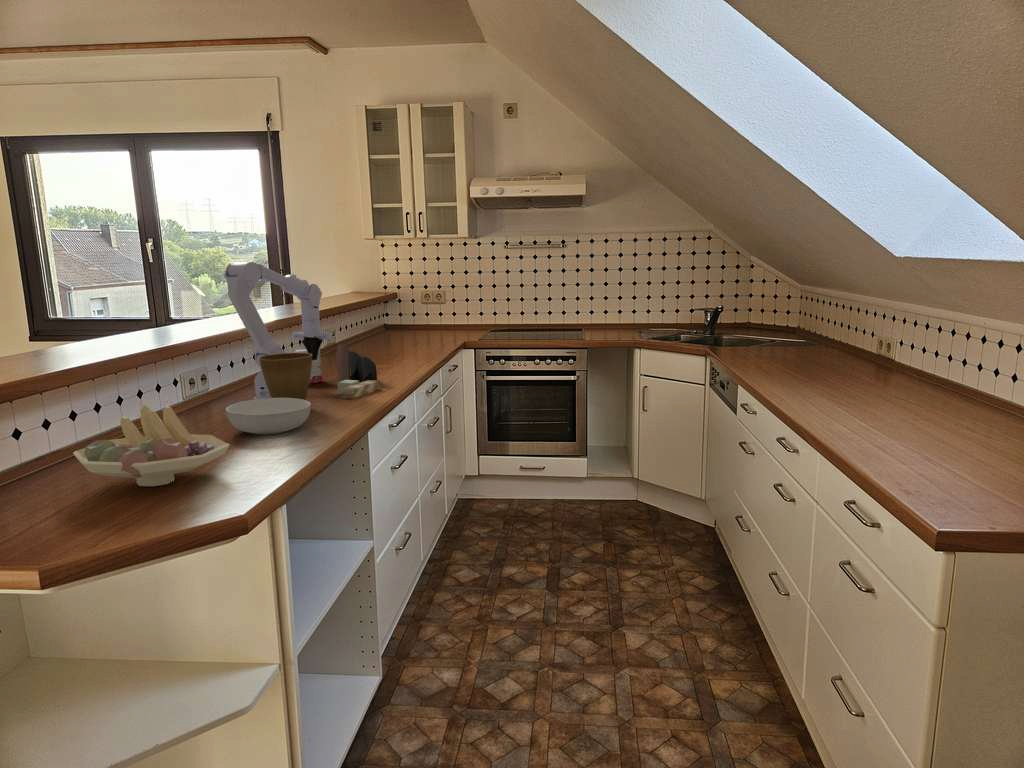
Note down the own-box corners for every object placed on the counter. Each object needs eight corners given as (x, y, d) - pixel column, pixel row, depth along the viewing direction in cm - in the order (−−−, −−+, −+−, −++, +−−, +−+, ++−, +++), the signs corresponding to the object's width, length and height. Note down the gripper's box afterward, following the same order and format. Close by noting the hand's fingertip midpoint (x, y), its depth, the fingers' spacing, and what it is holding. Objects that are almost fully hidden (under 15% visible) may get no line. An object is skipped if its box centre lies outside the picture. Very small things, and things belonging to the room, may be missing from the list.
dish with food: (191, 454, 162) (185, 394, 160) (257, 477, 145) (251, 410, 142) (55, 486, 141) (45, 418, 139) (113, 518, 124) (103, 440, 121)
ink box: (322, 380, 255) (320, 348, 253) (322, 383, 250) (320, 350, 248) (297, 382, 253) (295, 349, 251) (296, 384, 248) (294, 351, 246)
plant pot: (323, 403, 216) (319, 352, 213) (304, 414, 201) (300, 359, 198) (276, 403, 217) (272, 352, 214) (254, 414, 203) (249, 359, 200)
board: (352, 398, 222) (352, 389, 222) (341, 398, 224) (341, 388, 223) (379, 389, 237) (378, 380, 236) (369, 388, 238) (368, 380, 238)
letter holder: (349, 389, 238) (346, 348, 236) (337, 380, 256) (335, 341, 254) (378, 386, 242) (376, 346, 240) (365, 377, 260) (363, 340, 258)
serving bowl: (287, 443, 172) (285, 415, 170) (210, 439, 176) (208, 412, 175) (326, 422, 192) (324, 398, 190) (256, 420, 196) (254, 396, 195)
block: (351, 395, 228) (350, 383, 228) (338, 394, 230) (337, 382, 229) (359, 392, 233) (358, 380, 232) (346, 391, 235) (345, 379, 234)
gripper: (336, 319, 237) (338, 358, 239) (300, 318, 242) (303, 357, 244) (323, 321, 230) (326, 362, 233) (287, 320, 235) (290, 360, 238)
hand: (313, 359), depth 238 cm, fingers closed
